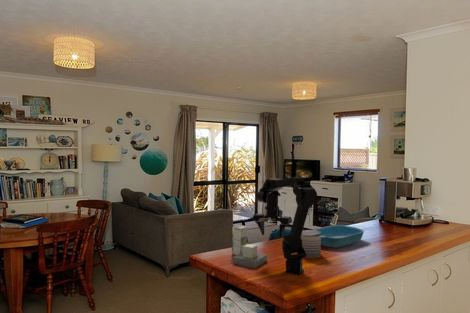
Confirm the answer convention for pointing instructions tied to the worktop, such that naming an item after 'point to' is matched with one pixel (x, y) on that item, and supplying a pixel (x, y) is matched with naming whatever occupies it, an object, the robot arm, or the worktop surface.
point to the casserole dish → (339, 235)
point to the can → (311, 243)
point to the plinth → (250, 260)
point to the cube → (250, 251)
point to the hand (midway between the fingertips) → (271, 236)
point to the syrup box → (239, 239)
